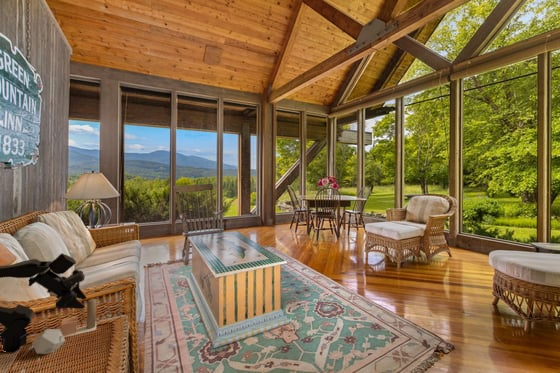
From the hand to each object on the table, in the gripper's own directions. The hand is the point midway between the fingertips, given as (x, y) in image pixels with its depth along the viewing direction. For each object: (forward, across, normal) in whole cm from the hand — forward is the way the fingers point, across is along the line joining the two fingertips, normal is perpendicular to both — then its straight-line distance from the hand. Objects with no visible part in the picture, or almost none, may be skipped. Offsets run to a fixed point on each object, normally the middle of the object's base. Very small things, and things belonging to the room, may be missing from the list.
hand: (84, 302), depth 109 cm
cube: (+5, 0, +12) cm, 12 cm away
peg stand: (+8, 0, +10) cm, 13 cm away
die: (+2, -10, +16) cm, 19 cm away
